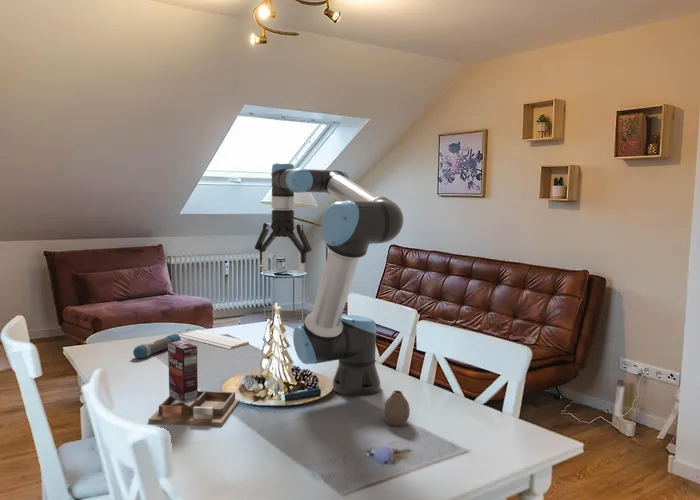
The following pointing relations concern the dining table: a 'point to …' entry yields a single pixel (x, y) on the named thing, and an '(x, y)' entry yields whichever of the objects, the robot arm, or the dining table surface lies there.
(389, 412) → the vase
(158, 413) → the organiser board
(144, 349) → the grey and blue cylinder
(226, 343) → the baseboard molding
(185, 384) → the supplement box
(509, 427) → the dining table surface
